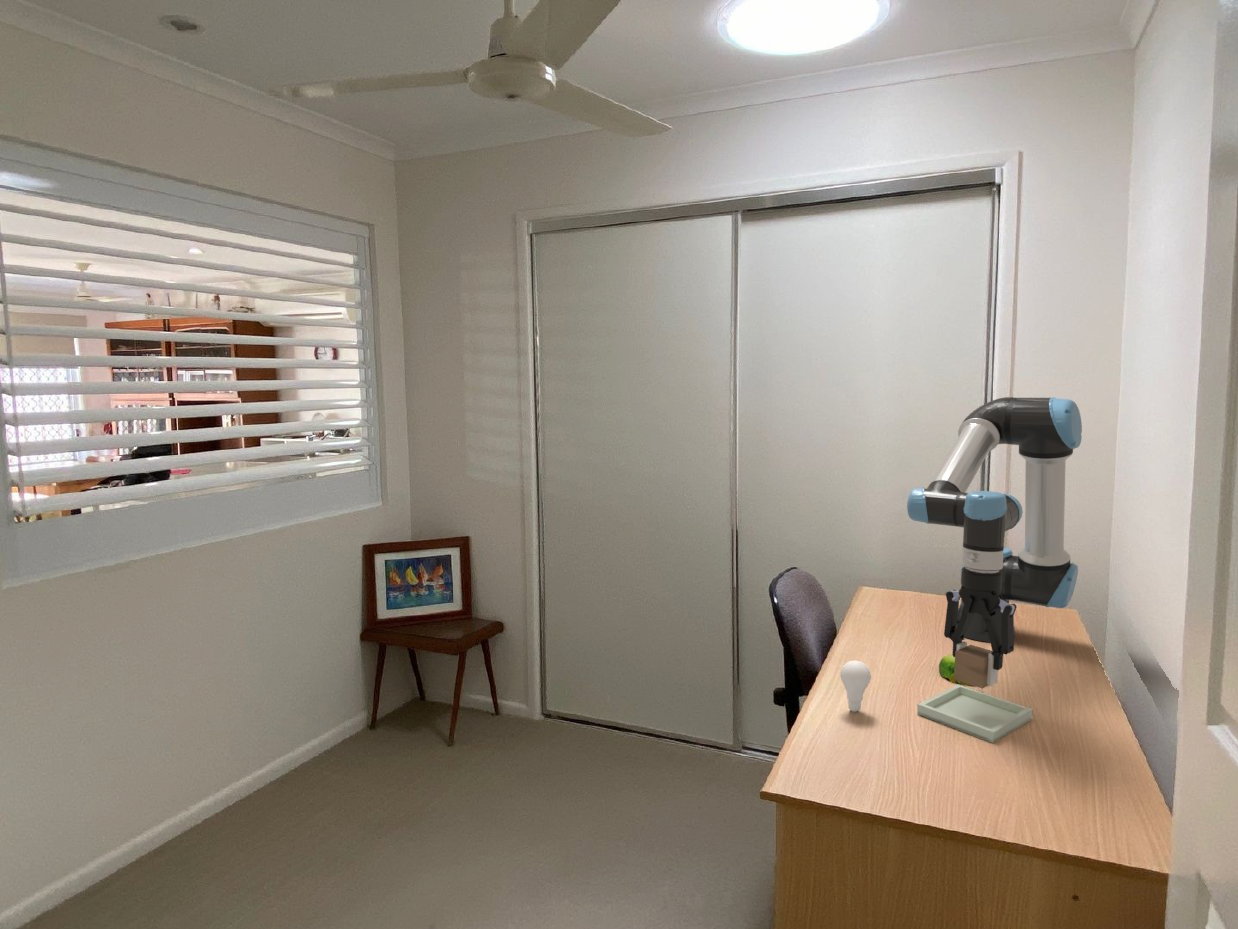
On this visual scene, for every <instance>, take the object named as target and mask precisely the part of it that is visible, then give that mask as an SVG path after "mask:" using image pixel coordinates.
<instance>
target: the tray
mask: <svg viewBox="0 0 1238 929" xmlns="http://www.w3.org/2000/svg"><path fill="white" fill-rule="evenodd" d="M1033 711H1034V710H1033V708H1031V707H1027V706H1023V705H1021V704H1018V703H1015V702H1012V701H1009V700H1006V699H1003V698H1000V697H996V696H994V695H990V694H988V693H985V692H983V691H980V690H977V689H973V688H971V687H968V686H966V685H963V684H959V683H957V684H956V685H953V686H952V687H950V688H948V689H946V690H944V691H941V692H939V693H938V694H935V695H934V696H931V697H930V698H927V699H925V700H923V701H922V702H919V703H917V712H916V714H917V715H918V716H921V717H923V718H926V719H929V720H931V721H933V722H937V723H939V724H942V725H945V726H947V727H949V728H952V729H954V730H958V731H960V732H963V733H965V734H967V735H969V736H970V735H971V736H973V737H974V738H975V737H976V738H978V739H981V740H982V741H983V740H984V741H986V742H989V743H990V744H995V743H996V742H998V741H999V740H1001V739H1003V738H1004V737H1006V736H1007V735H1009V734H1010V733H1013V731H1015V730H1017V729H1019V728H1020V727H1022V726H1024V725H1025V724H1027V723H1028V722H1031V721H1032V720H1033Z"/></svg>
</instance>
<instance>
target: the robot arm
mask: <svg viewBox="0 0 1238 929" xmlns="http://www.w3.org/2000/svg"><path fill="white" fill-rule="evenodd" d="M1082 431H1083V426H1082V417H1081V412H1080V409H1079V407H1078V405H1077V403H1076V402H1075V401H1073V399H1071V398H1070V399H1069V398H1057V397H1013V396H1012V397H1011V396H1005V397H1001V398H996V399H993V400H990V401H987V402H986V403H984V404H982V405H980V406H978V407H977V408H976V409H974V410H973V411H972V412H970V413H969V414H968V416H966V417H965V418H964V419H963V421H962V423H961V424H960V426H959V428H958V431H957V432H958V433H957V435H958V436H957V439H956V441H955V443H954V444H953V446H952V447H951V449H950V451H949V452H948V454H947V456H946V457H945V459H944V460H943V461H942V463H941V465H940V467H939V469H938V470H937V472H936V474H935V475H934V476H933V478H932V480H931V482H930V484H929V485H928V487H926V488H925V487H921V488H920V487H919V488H917V487H916V488H913V489H911V491H910V492H909V495H908V498H907V502H906V504H907V505H906V509H907V510H906V511H907V514H908V517H909V519H911V520H912V521H915V522H920V523H924V524H925V523H926V524H927V525H929V524H931V525H941V526H949V527H959V528H963V536H962V537H963V538H962V539H963V540H962V552H961V553H962V556H961V565H962V566H961V570H960V571H961V572H960V584H961V587H960V588H959V590H956V589H952V590H949V591H947V592H945V596H946V602H947V603H946V604H947V605H946V606H947V607H946V614H945V623H944V631H943V636H944V637H945V638H948V639H949V640H951V642H952V653H951V654H953V657H955V651H957V650H959V649H962V648H964V647H966V646H968V642H967V641H964V640H966V638H967V639H970V640H974V641H980V642H986V643H990V647H991V651H993V652H991V653H989V656H988V658H989V660H988V676H987V685H989V687H991V686H993V685H995V684H997V683H998V676H999V674H998V673H999V670H1001V669H1002V668H1003V666H1004V665H1003V663H1004V655H1008V654H1011V653H1012V652H1014V650H1015V635H1016V634H1015V633H1016V629H1015V624H1014V622H1015V621H1014V617H1015V616H1014V615H1015V612H1016V610H1017V605H1016V603H1010V601H1014V602H1020V603H1025V604H1029V605H1030V604H1031V605H1037V606H1041V607H1045V608H1056V609H1064V608H1067V606H1068V605H1069V604H1070V602H1071V601H1072V596H1073V594H1074V590H1075V587H1076V584H1077V579H1078V573H1079V566H1078V565H1077V564H1075V563H1074V562H1072V563H1071V555H1070V554H1069V552H1067V550H1065V549H1064V547H1065V546H1064V544H1065V543H1064V542H1065V540H1064V538H1065V506H1066V505H1065V502H1066V500H1065V499H1066V498H1065V496H1066V492H1065V491H1066V462H1067V460H1068V459H1069V458H1070V457H1072V456H1073V455H1074V450H1075V449H1077V448H1079V447H1080V446H1081V442H1082ZM998 445H1013V446H1018V454H1019V456H1020V457H1022V458H1023V460H1025V478H1024V479H1025V480H1024V481H1025V484H1024V486H1025V487H1024V489H1025V492H1024V494H1025V495H1024V496H1025V502H1024V505H1025V506H1024V507H1025V509H1024V510H1025V512H1024V511H1023V507H1022V505H1021V501H1019V500H1018V499H1017V498H1016V497H1015V496H1013V495H1011V494H1008V493H1003V492H1002V493H1001V492H997V491H989V490H976V491H975V490H973V491H970V492H967V490H968V489H969V487H970V486H971V484H972V482H973V480H974V478H975V476H976V475H977V473H978V472H979V470H980V468H981V466H982V464H983V462H984V461H985V459H986V457H987V455H988V454H989V452H990V451H993V450H994V449H995V448H997V446H998ZM1023 512H1024V516H1025V517H1024V518H1025V519H1024V547H1023V548H1022V549H1020V550H1019V551H1018V555H1013V550H1012V549H1011V548H1009V547H1005V536H1006V535H1005V534H1006V532H1007V531H1010V530H1012V529H1013V528H1015V527H1016V526H1017V524H1018V523H1019V522H1020V521H1021V519H1022V517H1023Z"/></svg>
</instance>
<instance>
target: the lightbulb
mask: <svg viewBox="0 0 1238 929" xmlns="http://www.w3.org/2000/svg"><path fill="white" fill-rule="evenodd" d="M839 674H840V680H841V682H842V684H843V686H844V688H845V690H846V698H847V704H848V705H847V706H848V709H849V710H850V711H851V712H853V713H857V712H859V711H861V709H862V701H863V699H864V694H865V690H866V689H867V688H868V686H869V684H870V683H871V679H872V674H871V670H870V669H869V667H868V666H867V664H866V663H865V662H862V661H860V660H849V661H847V662H846V663H844V664H843V666H842V667H841V669H840V673H839Z"/></svg>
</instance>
